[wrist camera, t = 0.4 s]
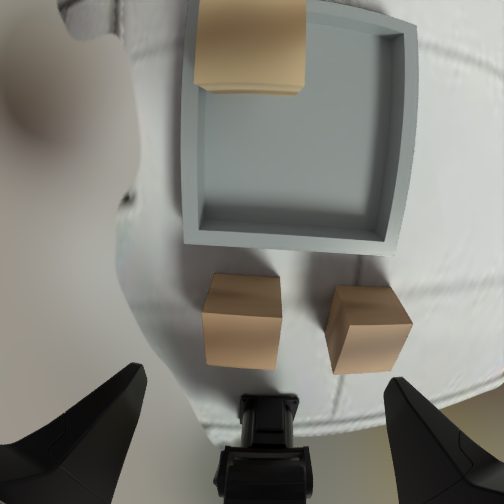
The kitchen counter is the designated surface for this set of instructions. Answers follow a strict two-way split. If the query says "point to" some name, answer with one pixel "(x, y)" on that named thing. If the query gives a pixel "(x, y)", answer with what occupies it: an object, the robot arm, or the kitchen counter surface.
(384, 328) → the block
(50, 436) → the robot arm
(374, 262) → the kitchen counter surface
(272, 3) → the block
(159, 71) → the kitchen counter surface
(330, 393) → the kitchen counter surface
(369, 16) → the tray
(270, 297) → the block
